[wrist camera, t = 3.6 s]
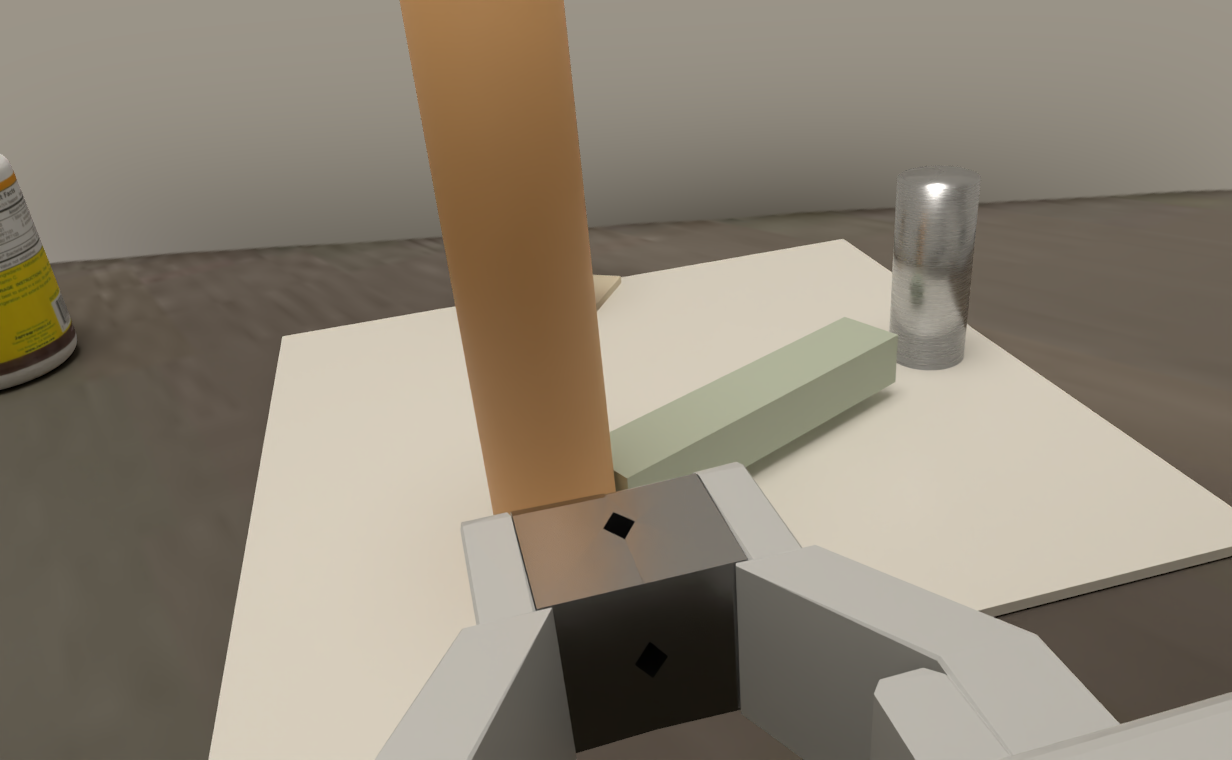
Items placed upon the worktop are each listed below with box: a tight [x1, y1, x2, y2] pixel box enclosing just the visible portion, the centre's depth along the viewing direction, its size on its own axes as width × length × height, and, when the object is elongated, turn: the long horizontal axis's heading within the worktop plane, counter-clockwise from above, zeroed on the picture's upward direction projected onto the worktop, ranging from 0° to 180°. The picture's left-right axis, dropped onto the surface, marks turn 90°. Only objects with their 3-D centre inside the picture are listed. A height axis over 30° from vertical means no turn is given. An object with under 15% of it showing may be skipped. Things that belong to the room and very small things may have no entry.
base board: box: [209, 239, 1232, 760], centre depth 30 cm, size 24×22×1 cm
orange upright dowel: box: [400, 0, 898, 516], centre depth 22 cm, size 14×3×19 cm, turn 129°
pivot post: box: [889, 166, 981, 370], centre depth 30 cm, size 2×2×6 cm
